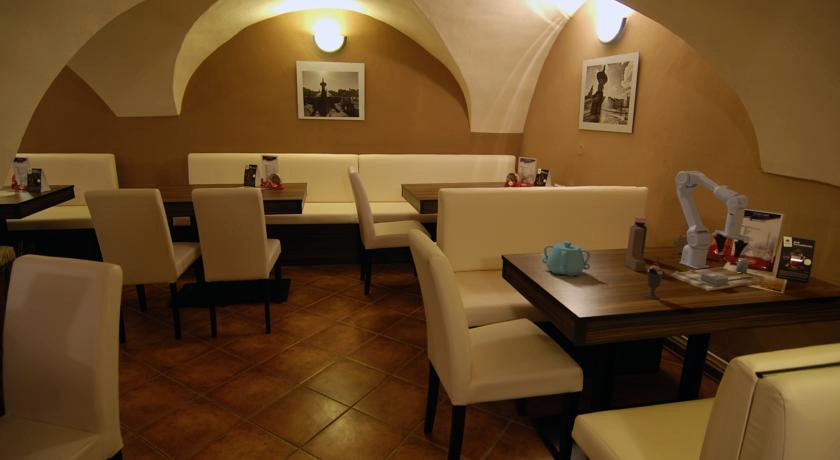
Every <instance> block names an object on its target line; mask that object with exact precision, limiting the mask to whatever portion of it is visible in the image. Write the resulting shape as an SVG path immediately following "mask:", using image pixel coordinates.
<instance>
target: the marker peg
mask: <svg viewBox="0 0 840 460" xmlns="http://www.w3.org/2000/svg"><path fill="white" fill-rule="evenodd" d="M749 263H750V259H747V258H743V257H739V258H737V263H736V269H735V272H736V271H737V272H741V273H746V274H747V273H748V268H749ZM741 273H740V274H741Z"/></svg>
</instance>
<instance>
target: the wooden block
mask: <svg viewBox="0 0 840 460" xmlns="http://www.w3.org/2000/svg"><path fill="white" fill-rule="evenodd" d="M643 237H644V229H643V228H641V227H632V226H630V227H629V236H628V241H627V242H628V243H627V250H626V258H625V263H624V264H625V266H627V268H629V269H631V270H633V271H634V272H644V271H645V272H646V264H647V262H646V261H645V260H644V257H643V258H642V244H643Z"/></svg>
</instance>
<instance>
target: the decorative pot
mask: <svg viewBox="0 0 840 460" xmlns="http://www.w3.org/2000/svg"><path fill="white" fill-rule="evenodd" d="M548 248H552V249H551V250H550V252H549V253H548V252H547V249H548ZM584 253H585V254H586V255H587V256H586V258H585V257H584ZM543 255H544V256H545V257H542V259H541V262H542V263H543V264H544V265H545V264H546V267H547V269H548V271H550V272H552V274H553V273H555V274H554V275H560V274H561V275H567V276H568V277H571V278H572V277H575V276H578V275H580V274H581V273H582V272H583V270H585V271H588V270H589V269H591V265H590V264H589V263H588V262H589V260H590V257H591V252H589V251H588V250H587V249H585V248H581V247H580V246H579V245H577V244H572V242H571V241H569V240H568V241H567V240H566V241H563V243H561V242H558V243H556V244H554V245H553V244H548V245H546V246H544V249H543Z"/></svg>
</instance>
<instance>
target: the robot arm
mask: <svg viewBox="0 0 840 460" xmlns="http://www.w3.org/2000/svg"><path fill="white" fill-rule="evenodd" d="M674 180H675V184H676V194H677V196H678V197H677V198H678V200H679V204H680V205H681V209H682V211H683V212H682V213H683V214H684V217H685V220H686V223H687V225H688V229H687V231H686V235H687V242H688V245H686V246H685V247H684V248H683V252H682V253H681V260H680V261H679V264H682V265H684V266H687V267H689V268H693V269H695V270H702V269H709V268H710V265H708V264H706V261H707V256H708V252H709V251H708V248H709V249H710V246H711V245H712V244H713V243H714V241H715V243H716V249H717V253H723V252H724V248H725V246H726V245H725V244H726V241H727V239H732V240H735V241H734V242H733V243H734V251H733V258H737V259H738V258H740V256H741V254H742V252H743V251H744V249H745V248H746V247H747V246H748V245H749V243H750V241H751V237H747V236H745V235H742V234H741V232H742V227H743V223H744V217H745V211H746V209H747V208H748V207H749V206H750V198H749V197H747V195H745V194H739V192H738V191H734V190H732V189H731V188H730V186H729V185H719V184H717V183H716V182H715V181H713V180H712V179H710V178H709V177H707V176H706V175H705V173H702V172H701V171H700V170H686V171H685V170H682V171H679V172H677V175H676V177H675V179H674ZM699 185H700V186H702V187H703V188H705V189H707V190H709V191H711V192H712V193H713V195H714V197H715V198H716V199H718V200H720V201H721V202H723V203H725V204H726V207H727V215H726V219H725V221H726V222H725V226H724V230H720V229H715V230H714V235H715V236H713V234H712V233H711V232H710V231H709V228H708V227H706V226H705V225H704V224H703V222H702V220H701V216H700V214H699V211H698V208H697V204H696V203H695V200H694V199H695V198H694V197H693V194H692V192H693V191H694V189H696V188H697V187H698V186H699Z"/></svg>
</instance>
